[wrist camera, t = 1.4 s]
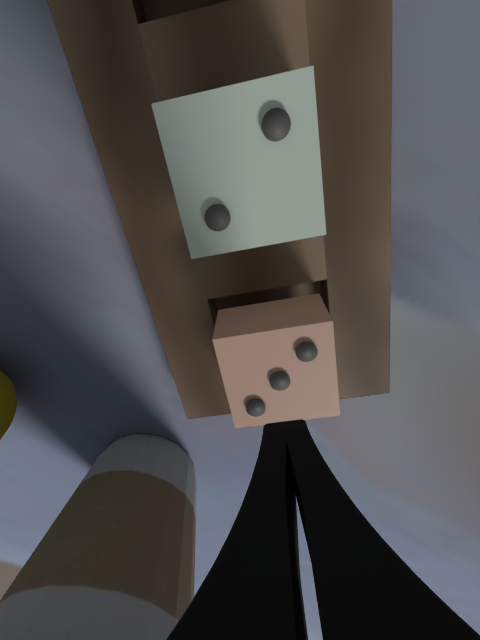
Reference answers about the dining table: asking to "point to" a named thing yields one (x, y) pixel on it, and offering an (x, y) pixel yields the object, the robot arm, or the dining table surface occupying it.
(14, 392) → the lemon
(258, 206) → the tile two pip
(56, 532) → the coffee cup
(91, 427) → the dining table surface
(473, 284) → the dining table surface
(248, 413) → the tile three pip
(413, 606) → the robot arm
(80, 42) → the board
